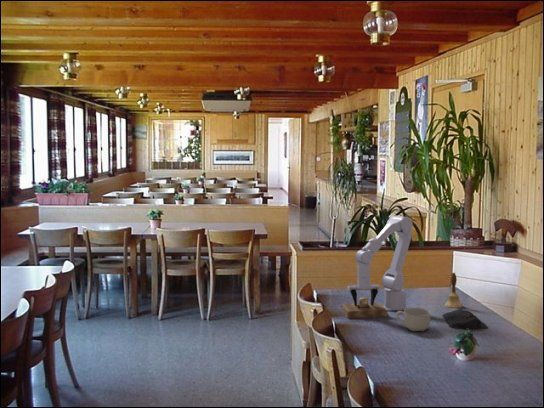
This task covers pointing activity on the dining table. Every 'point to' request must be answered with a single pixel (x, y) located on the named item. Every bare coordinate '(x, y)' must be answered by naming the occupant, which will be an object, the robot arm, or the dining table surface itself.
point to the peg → (363, 302)
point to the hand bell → (453, 295)
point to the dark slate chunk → (463, 320)
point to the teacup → (415, 318)
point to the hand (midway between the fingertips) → (363, 305)
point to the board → (364, 310)
